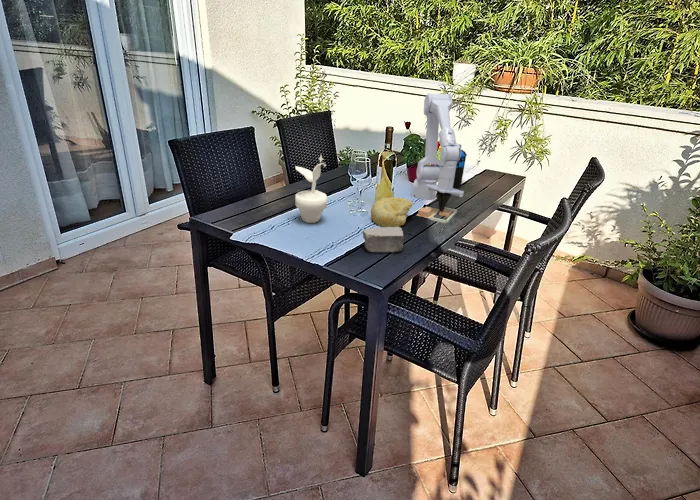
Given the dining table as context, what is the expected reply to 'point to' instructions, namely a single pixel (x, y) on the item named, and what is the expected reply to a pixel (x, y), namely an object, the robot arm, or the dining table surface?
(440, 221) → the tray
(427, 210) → the tile
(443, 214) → the tile
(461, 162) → the aerosol can
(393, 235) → the decorative stone
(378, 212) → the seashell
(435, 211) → the board
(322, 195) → the potted plant
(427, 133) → the robot arm
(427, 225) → the dining table surface
